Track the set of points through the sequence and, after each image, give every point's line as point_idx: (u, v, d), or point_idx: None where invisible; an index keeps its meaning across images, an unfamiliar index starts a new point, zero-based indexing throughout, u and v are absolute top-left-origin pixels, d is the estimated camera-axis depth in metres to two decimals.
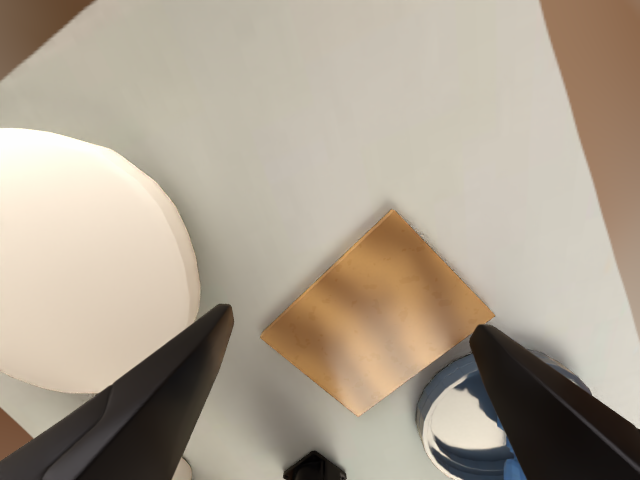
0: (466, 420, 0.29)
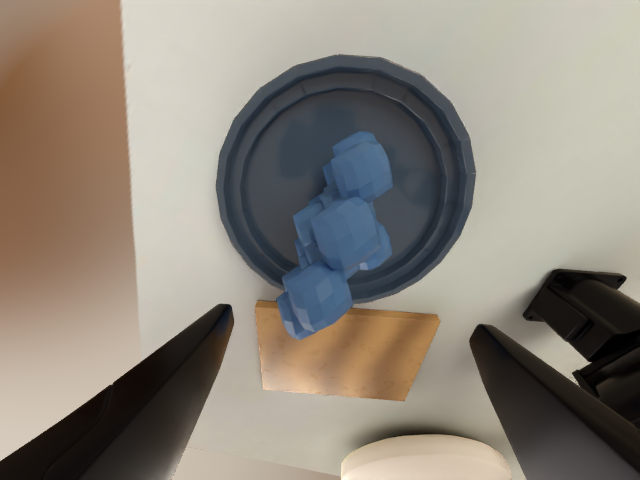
0: None
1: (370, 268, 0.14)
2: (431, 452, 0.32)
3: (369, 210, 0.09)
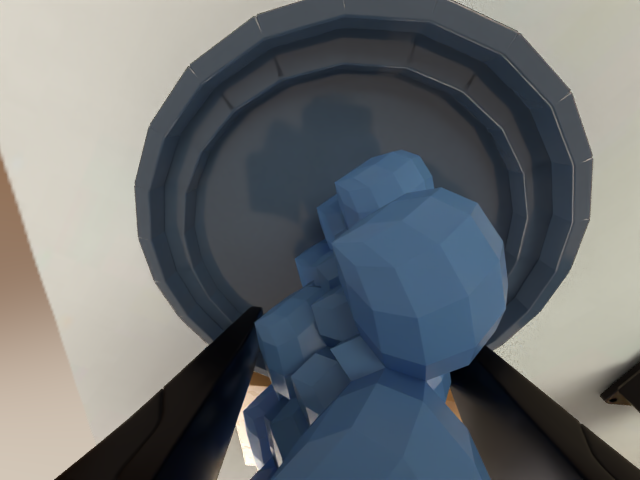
0: None
1: None
2: None
3: None
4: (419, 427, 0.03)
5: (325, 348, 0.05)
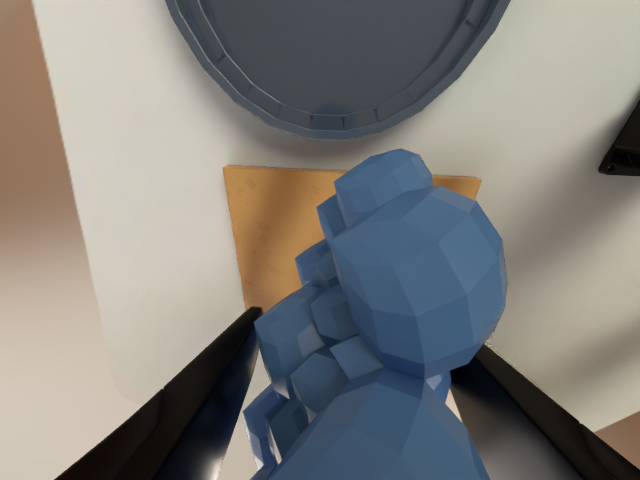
0: None
1: None
2: None
3: None
4: (417, 426, 0.03)
5: (324, 347, 0.05)
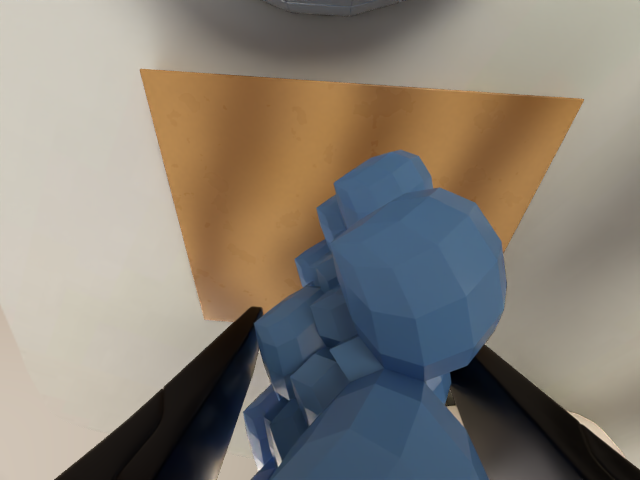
0: None
1: None
2: None
3: None
4: (417, 428, 0.03)
5: (324, 348, 0.05)
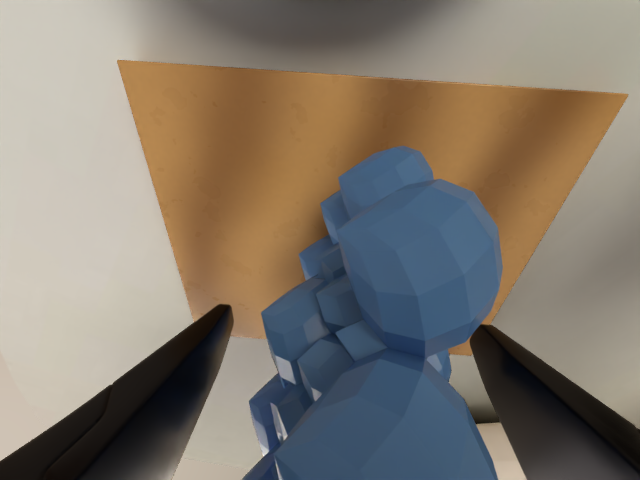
0: None
1: None
2: None
3: (484, 466, 0.02)
4: (418, 393, 0.03)
5: (329, 335, 0.06)
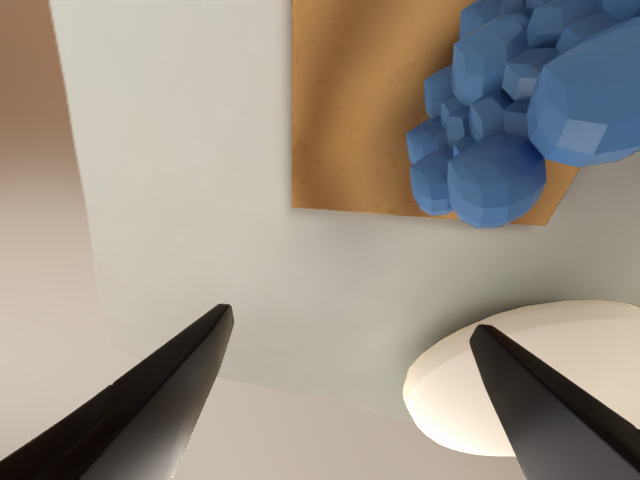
0: None
1: None
2: (595, 315, 0.18)
3: None
4: None
5: None
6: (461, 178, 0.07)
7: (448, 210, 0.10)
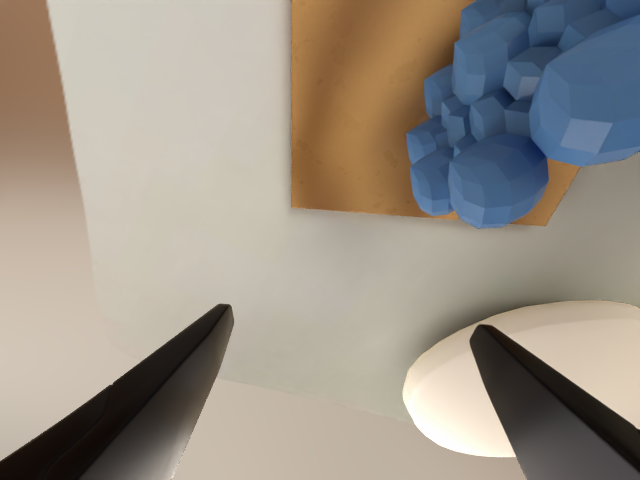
0: None
1: None
2: (595, 316, 0.18)
3: None
4: None
5: None
6: (462, 178, 0.07)
7: (449, 210, 0.10)
